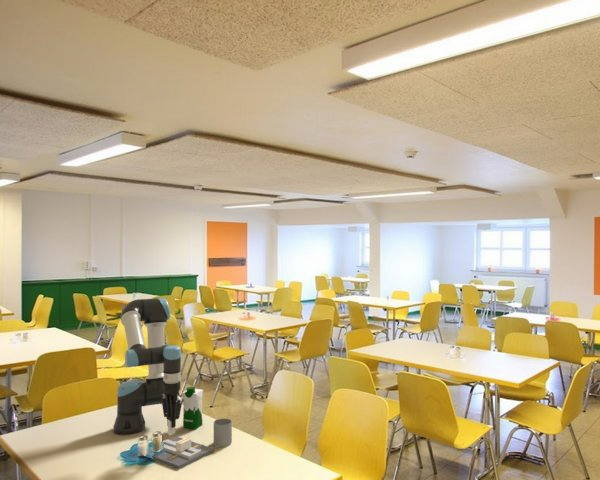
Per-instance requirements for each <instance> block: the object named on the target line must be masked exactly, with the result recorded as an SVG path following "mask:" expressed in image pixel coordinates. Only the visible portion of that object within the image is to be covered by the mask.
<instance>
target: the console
mask: <svg viewBox="0 0 600 480" xmlns="http://www.w3.org/2000/svg"><path fill="white" fill-rule="evenodd" d="M182 439H184V438H182V437H179V436H175V437H173V438H170V439H168V438H167V439H164V440H162V441H163V443H164V447H163V448H164V449H165V450H166V451H165V452H163V453H159V454H158V453H157V454H154V455H153V456H152V457H153V459H154V460H153V461H155V462H157V463H161V464H163V465H166V466H168V467H171V468H174V469H177V470H181V469H184V468H185V467H186V466H189V465H190V464H193V463H194V462H197V461H199V460H200V459H203V458H205V457H206V456H209V455H210V454H212V453H214V452H215V451H214V450H215V449H214V448H213V447H210V446H208V445H204V444H201V443H199V442H195V441H192V440H191V447H190V448H188V449H186V451H182V452H179V451H176V442H178V441H180V440H182ZM165 444H166V445H165Z"/></svg>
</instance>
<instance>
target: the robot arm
mask: <svg viewBox="0 0 600 480" xmlns="http://www.w3.org/2000/svg"><path fill="white" fill-rule="evenodd" d="M170 317H171V310H170V306H169V303H168V300H167V299H166V298H160V297H159V298H158V297H155V298H154V297H153V298H140V299H139V298H137V299H133V300H132V301H130V302H128V303H126V305H124V307H123V308H122V310H121V314H120V322H121V325H122V326H123V327H124V333H125V338H126V339H125V340H126V343H127V347H128V348H127V350H126V351H125V353H124V354H125V355H124V359H125V366H126V367H127V368H131V367H143V366H148V375H147V376H146V377H145V382H143V380H141V379H130V380H127V381H123V382H122V383H121V384H119V385H118V386H117V392H116V393H117V394H116V398H117V401H116V402H117V403H116V406H117V407H116V409H117V410H116V418H115V421H114V424H113V428H112V432H113V433H114V434H117V435H123V436H125V435H133V434H138V433H139V432H142V431H144V430H145V429H146V420H145V418H144V415H143V407H148V406H155V405H161V406H162V412H163V417H164V418H166V422H167V425H166V426H167V435H168V436H172V435H174V434H176V423H177V422H176V420H179V418H180V416H181V412H182V411H181V410H182V407H183V406H182V405H183V401H184V400H183V398H181V397H180V396H181V395H180V390H181V380H182V379H181V378H182V377H181V376H182V375H181V373H182V372H181V370H182V369H181V367H182V366H181V359H182V351H181V349H182V348H181V347H180V346H179V345H173V344H172V345H169V344H165V343H166V342H165V341H166V340H165V326H166V325H167V324H168V320H170ZM141 322H143V326H145V327H146V330H147V333H146V334H147V347H146V342H145V338H144V334H143V330H142V325H141Z"/></svg>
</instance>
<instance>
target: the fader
mask: <svg viewBox="0 0 600 480" xmlns="http://www.w3.org/2000/svg"><path fill="white" fill-rule="evenodd" d="M191 441H192V439H191V438H190V437H185V438H183V439H182V440H180V441H178V442H176V451H179V452H182V451H186V449H188V448H190V447H191Z"/></svg>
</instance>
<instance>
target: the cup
mask: <svg viewBox="0 0 600 480" xmlns="http://www.w3.org/2000/svg"><path fill="white" fill-rule="evenodd" d="M232 431H233V420H232V419H230V418H218V419H215V420H214V421H213V446H214V447H217V448H226V446H227V447H229V446H231V445H232V444H233V441H232V440H233V432H232ZM231 443H232V444H231Z"/></svg>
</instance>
